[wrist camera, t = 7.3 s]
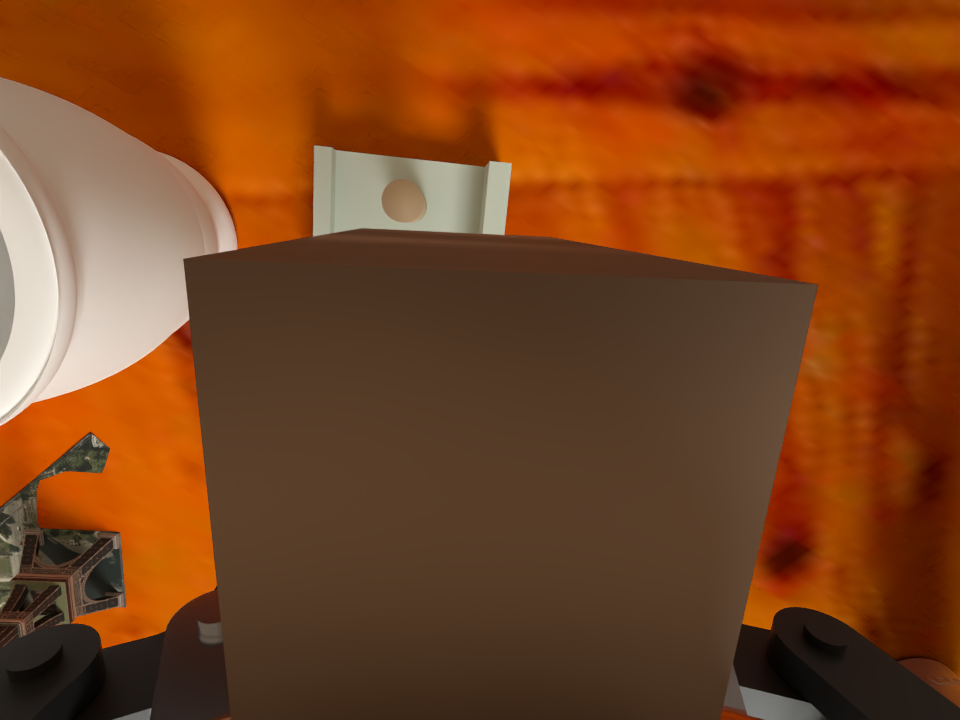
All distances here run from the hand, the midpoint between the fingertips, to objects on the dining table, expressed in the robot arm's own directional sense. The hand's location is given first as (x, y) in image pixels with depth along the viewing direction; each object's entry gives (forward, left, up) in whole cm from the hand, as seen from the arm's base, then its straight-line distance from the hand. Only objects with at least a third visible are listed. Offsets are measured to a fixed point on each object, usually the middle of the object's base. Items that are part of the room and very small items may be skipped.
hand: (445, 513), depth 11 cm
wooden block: (0, 0, -2) cm, 2 cm away
